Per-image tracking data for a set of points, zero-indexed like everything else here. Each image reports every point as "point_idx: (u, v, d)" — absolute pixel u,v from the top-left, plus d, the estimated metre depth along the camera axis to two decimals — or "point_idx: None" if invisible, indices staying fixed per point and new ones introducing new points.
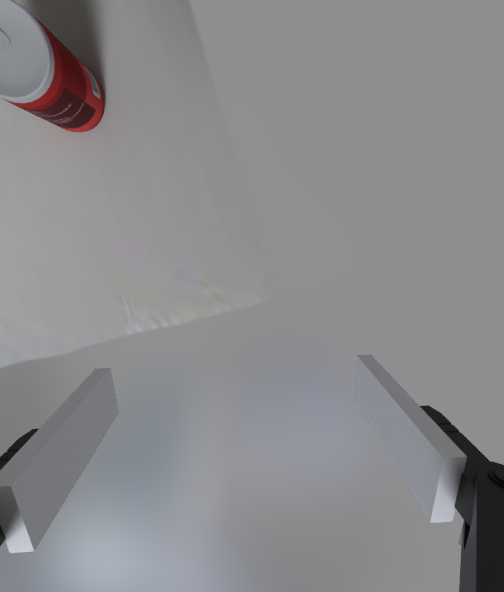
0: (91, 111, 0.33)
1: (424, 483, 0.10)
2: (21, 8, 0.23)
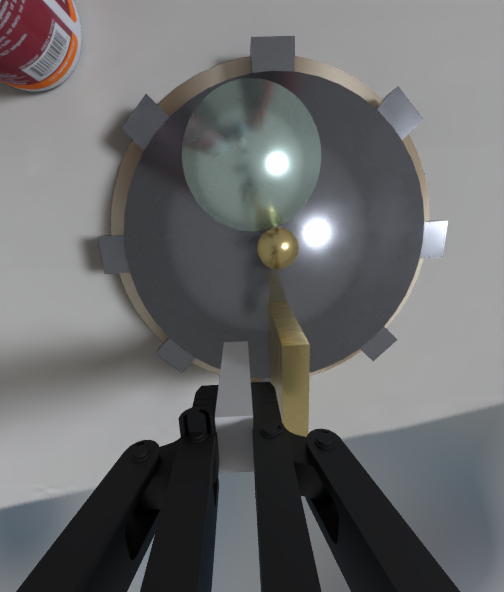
0: None
1: None
2: None
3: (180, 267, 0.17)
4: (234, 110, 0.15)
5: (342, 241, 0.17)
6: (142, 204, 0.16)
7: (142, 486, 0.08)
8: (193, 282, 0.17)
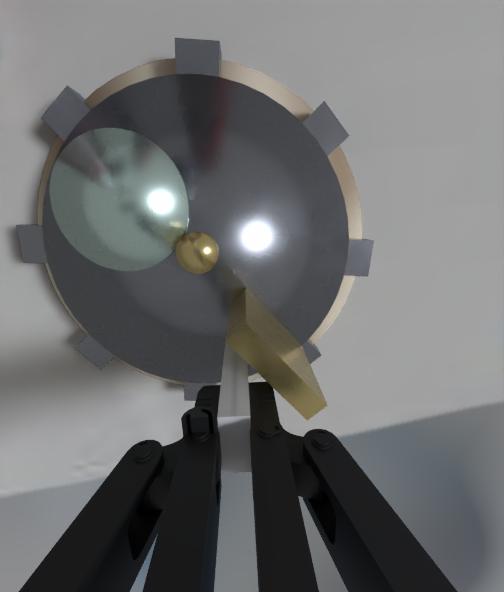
0: None
1: None
2: None
3: (144, 324, 0.18)
4: (76, 181, 0.15)
5: (246, 201, 0.16)
6: (80, 301, 0.17)
7: (145, 486, 0.08)
8: (162, 328, 0.18)
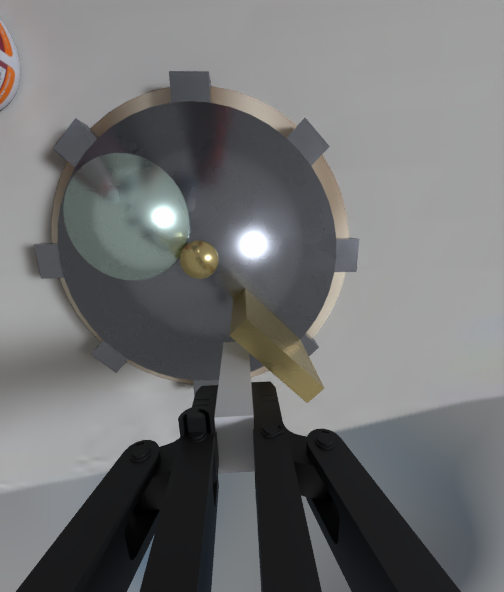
0: None
1: None
2: None
3: (153, 328, 0.19)
4: (86, 202, 0.17)
5: (240, 211, 0.18)
6: (94, 310, 0.19)
7: (142, 486, 0.08)
8: (171, 331, 0.20)
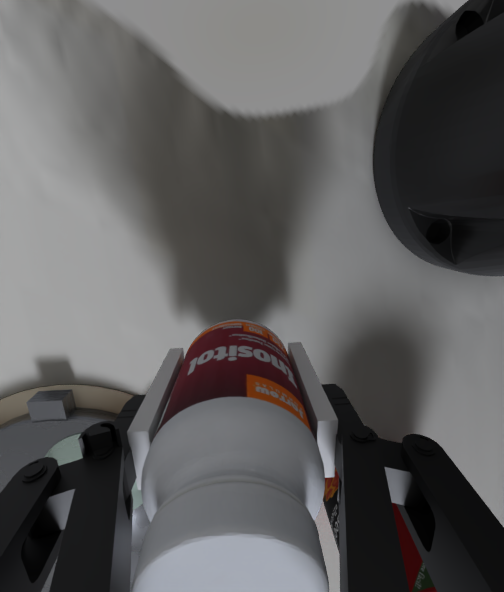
0: None
1: None
2: None
3: None
4: None
5: None
6: (0, 446, 0.19)
7: (39, 503, 0.08)
8: None
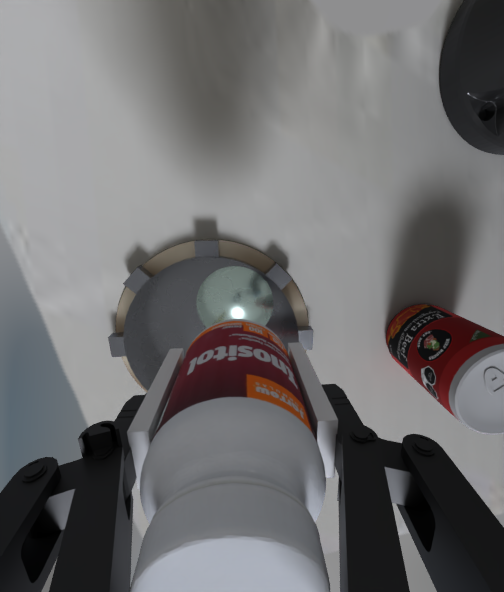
0: None
1: None
2: None
3: (161, 313, 0.28)
4: (245, 281, 0.27)
5: None
6: (172, 275, 0.27)
7: (39, 503, 0.08)
8: (160, 324, 0.28)
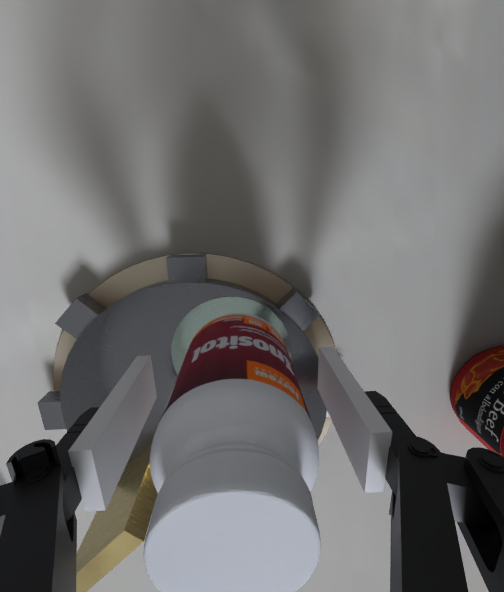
0: None
1: (360, 457, 0.11)
2: None
3: (118, 368, 0.18)
4: None
5: None
6: (132, 311, 0.17)
7: None
8: None
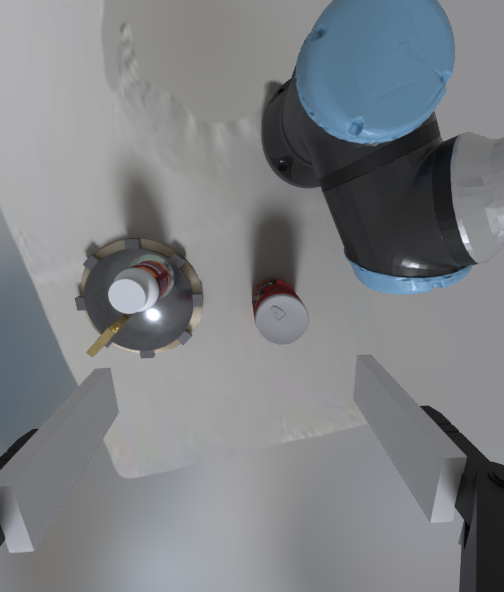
0: None
1: (424, 483, 0.10)
2: (298, 302, 0.39)
3: (106, 283, 0.46)
4: None
5: (158, 317, 0.48)
6: (112, 259, 0.45)
7: None
8: (106, 290, 0.46)
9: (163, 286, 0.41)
